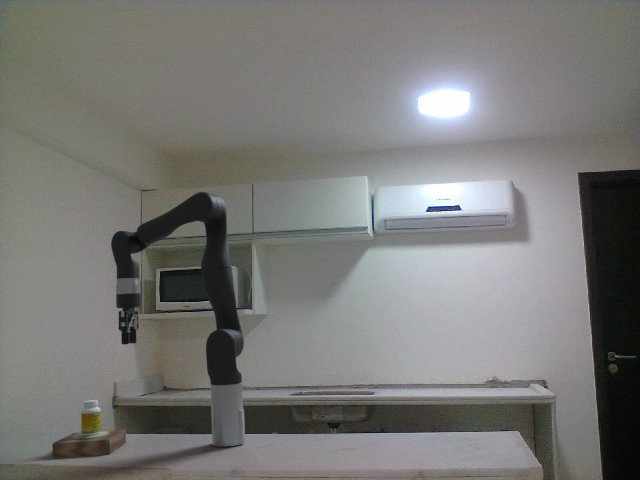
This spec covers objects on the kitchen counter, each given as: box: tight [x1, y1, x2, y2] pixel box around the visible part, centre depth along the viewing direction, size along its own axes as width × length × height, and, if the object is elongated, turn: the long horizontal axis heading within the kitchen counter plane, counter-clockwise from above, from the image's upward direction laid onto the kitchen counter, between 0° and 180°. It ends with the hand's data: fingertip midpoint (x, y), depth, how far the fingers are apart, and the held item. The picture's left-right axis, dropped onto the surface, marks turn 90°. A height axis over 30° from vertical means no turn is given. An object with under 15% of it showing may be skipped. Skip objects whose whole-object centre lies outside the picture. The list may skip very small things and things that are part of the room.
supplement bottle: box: [80, 399, 102, 436], centre depth 181 cm, size 5×5×10 cm
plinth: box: [51, 429, 127, 459], centre depth 180 cm, size 16×16×4 cm
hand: (129, 343), depth 194 cm, fingers open, 8 cm apart
